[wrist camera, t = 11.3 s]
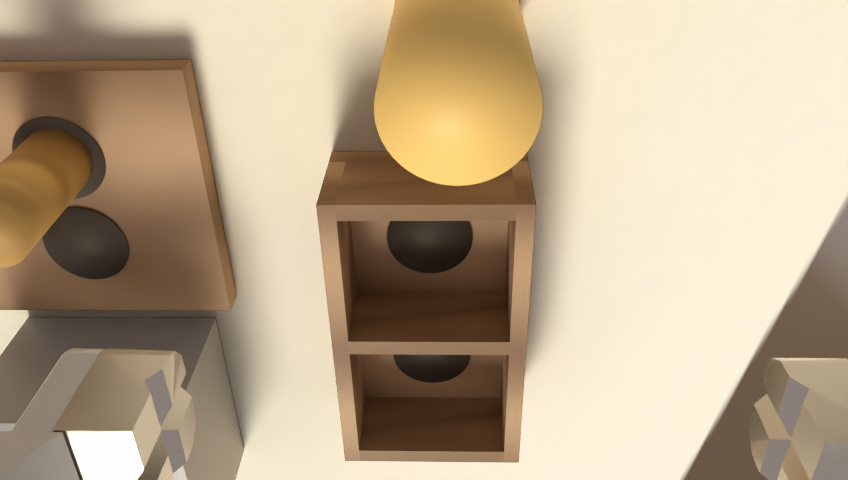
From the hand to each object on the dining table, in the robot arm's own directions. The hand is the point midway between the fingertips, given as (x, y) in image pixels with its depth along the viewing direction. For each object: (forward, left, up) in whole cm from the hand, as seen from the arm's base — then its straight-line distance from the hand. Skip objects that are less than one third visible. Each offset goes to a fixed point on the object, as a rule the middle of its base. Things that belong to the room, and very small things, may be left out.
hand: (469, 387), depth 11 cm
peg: (0, 0, -17) cm, 17 cm away
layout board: (+6, -14, -17) cm, 23 cm away
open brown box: (+11, -1, -17) cm, 20 cm away
